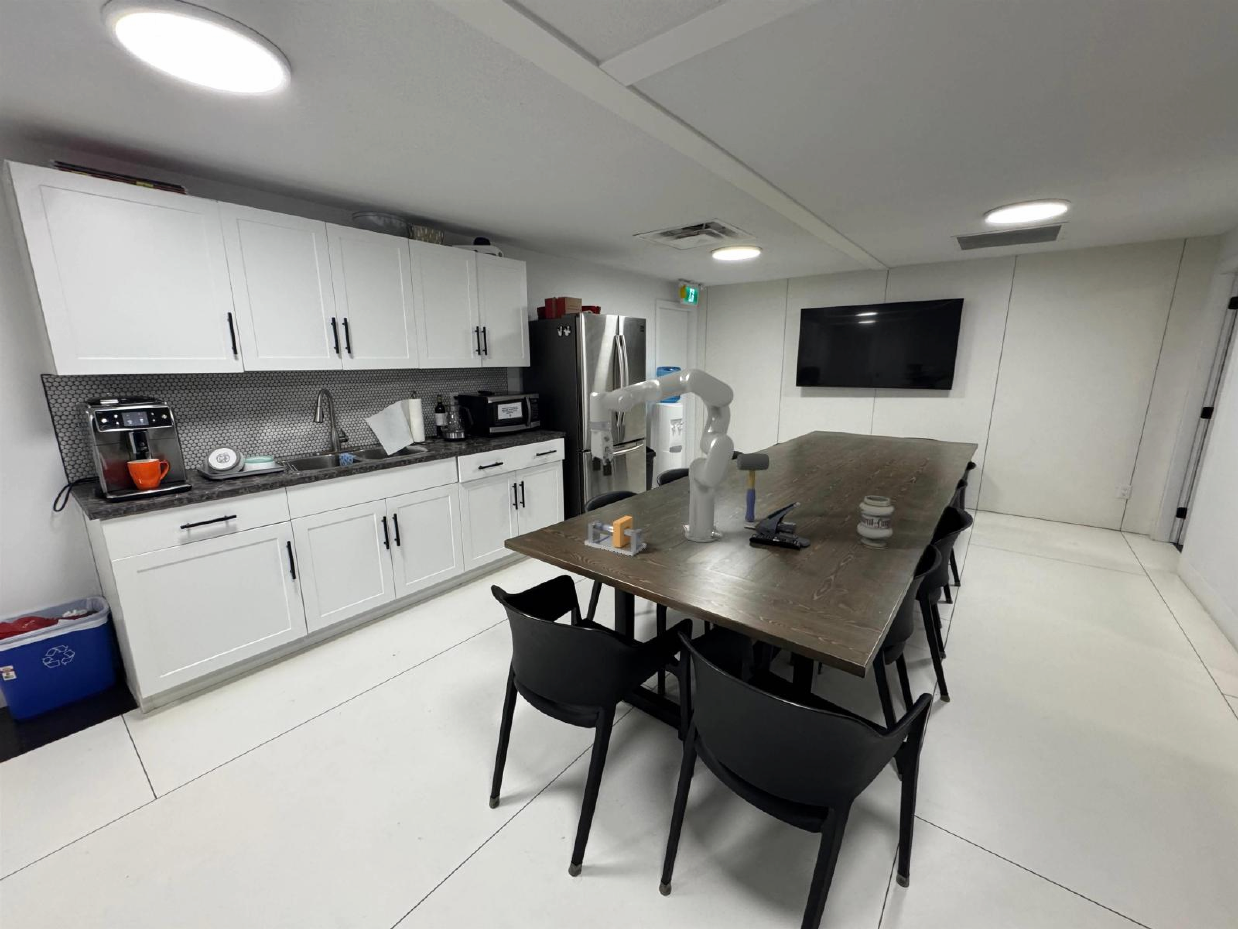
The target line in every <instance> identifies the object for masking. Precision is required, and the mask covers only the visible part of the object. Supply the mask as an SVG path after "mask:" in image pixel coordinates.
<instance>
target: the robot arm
mask: <svg viewBox="0 0 1238 929" xmlns="http://www.w3.org/2000/svg"><path fill="white" fill-rule="evenodd" d="M689 393H691V394H694V395H696V396H697V397H699V398H700V400H701V401H702V403H704V405H705V406H706V410H707V417H706V422H705V426H704V429H703V432H702V435H701V438H700V441H699V449H700V450H701V452H702V453H704V454H705V455H706V457H698V458H695V459H693V460H692V461H691V463H690V464H689V467H688V480H689V511H688V514H689V515H688V516H689V518H688V519H689V521H688V530H687V531H685V532H684V537H685V538H686V540H689V541H691V542H695V543H711V542H714V541H715V542H716V540H717V539H718V538H722V539H723V537H724V532H723V531H722V530H718V529H717V526H716V525H714V524H715V504H716V503H715V501H716V499H715V498H716V490H715V489H716V488H718V487H720V486H721V485H722V484H723V483H724V481H725V480H726V477H727V474H728V471H729V468H730V465H731V462H732V460H733V456H734V452H735V444H734V441H733V439H732V437H731V436H729V435H728V434H727V433H728V430H729V425H730V422H731V415H732V414H731V409H730V405H731V403H732V402H733V400H734V397H735V396H734V390H733V389H732V387H731V386H730V385H729V384H728V383H726V382H724V381H722V380H720V379H719V378H717V377H715V376H713V375H711V374H709V373H708V372H706V371H704V370H702V369H700V368H685V369H681V370H677V371H674V372H671V373H668V374H665V375H661V376H658V377H654V378H650V379H647V380H644V381H641V382H637V383H633V384H631V385H627V386H624V387H619V388H617V389H614V390H612V391H611V392H609V391H603V390H598V391H597V390H596V391H592V392H590V394H589V416H590V417H589V418H590V420H589V421H590V423H589V427H590V431H591V437H590V438H591V440H590V441H591V443H590V444H591V445H590V451H591V453H590V455H591V468H592V471H593V472H595V471H601V470H602V476H603V477H608V476H612V474H613V473H612V471H613V470H612V469H613V468H612V467H613V465H612V464H613V458H614V442H613V434H612V412H618V413H626V412H630V411H631V410H632V409H633V407H634V405H640V404H643V403H657V402H662V401H666V400H669V399H671V398H675V397H678V396H681V395H685V394H689ZM601 463H603V464H602V465H601ZM601 467H602V468H601Z"/></svg>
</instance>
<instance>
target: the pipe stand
mask: <svg viewBox="0 0 1238 929" xmlns="http://www.w3.org/2000/svg"><path fill="white" fill-rule="evenodd" d="M587 529H588V531H587V532H588V533H587V534H588V535H587V536H588V539H586V540H584V546H587V545H588V546H589V547H592V548H596V549H600V548H601V550H604V549H605V550H604V551H608V550H609V552H613V551H615V552H614V553H617V552H618V553H617V554H621V553H622V554H621V555H626V556H629V555H631V556H630V557H634V556H635V555H636V553H637V554H638V553H639V551H640V552H642V551H643V550H644V549H646V548H647V543H646V542H645V543H644V539H643V538H644V529H642V528H637V529H633V530H631V529H626V528H624V535H627V536H631V541H630V542H628V543H627V544H625V545H623V546H622V547H616V546H613V535H609V534H603V533H601V531H603V532H609V533H613V525H611V524H607V523H601V521H600V520H597V519H595V520H593V521H591V522H589V523H588V528H587ZM643 548H644V549H643ZM642 549H643V550H642Z"/></svg>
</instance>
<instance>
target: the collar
mask: <svg viewBox="0 0 1238 929" xmlns="http://www.w3.org/2000/svg"><path fill="white" fill-rule="evenodd" d="M633 522H634V518H633V516H630V515H624V516H623V517H620V518H619V519H616V520H614V521H612V526H613V532H612V536H613V546H616V547H622V546H623V545H625V544H627V543H628V542H630V541H631V536H627V535H624V528H626V529H631V530H634V529H633V528H634V523H633Z"/></svg>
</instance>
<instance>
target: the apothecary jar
mask: <svg viewBox="0 0 1238 929" xmlns="http://www.w3.org/2000/svg"><path fill="white" fill-rule="evenodd" d="M858 509H859V511H860V512H861V518H860V522H859V523H858V524H857V526H856V531H857V532H858V533H859V535H861V536H862V537H864V538H860V539H859V540H858V544H859V545H862V546H863V547H865V548H869V549H874V550H884V549H887V548H888V546H889V545H888V543H887V542H886V541H883V540H887V539H889V538H890V537H892V536H893V535H894V529H893V528H892V527H891V516H892V515H894V513H895V510H896V508H895V507H894V506H893V505H892V504H891V499H890V498H889V497H886V496H880V495H867V496H864V499H863V501H861V503H859V504H858Z"/></svg>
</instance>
